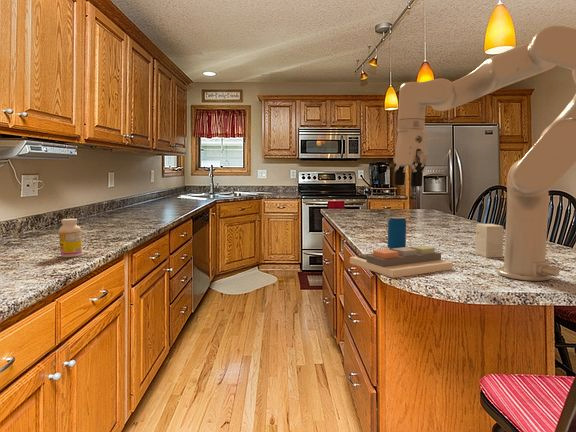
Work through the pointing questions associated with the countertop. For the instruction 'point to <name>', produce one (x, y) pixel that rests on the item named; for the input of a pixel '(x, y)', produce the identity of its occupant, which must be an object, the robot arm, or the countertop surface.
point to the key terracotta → (385, 254)
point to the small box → (489, 240)
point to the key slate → (405, 251)
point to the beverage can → (396, 232)
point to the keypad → (402, 264)
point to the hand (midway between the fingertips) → (407, 185)
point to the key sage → (423, 249)
